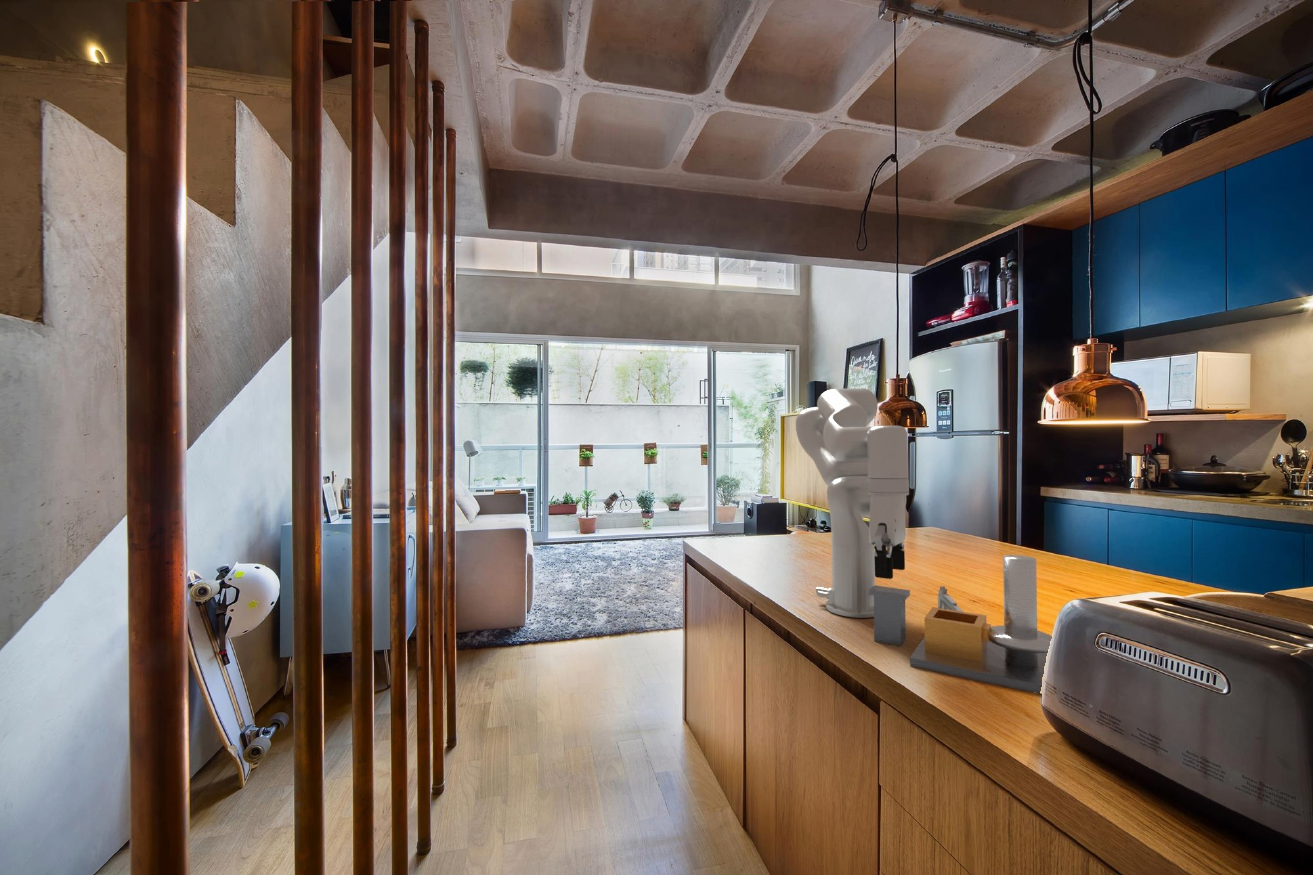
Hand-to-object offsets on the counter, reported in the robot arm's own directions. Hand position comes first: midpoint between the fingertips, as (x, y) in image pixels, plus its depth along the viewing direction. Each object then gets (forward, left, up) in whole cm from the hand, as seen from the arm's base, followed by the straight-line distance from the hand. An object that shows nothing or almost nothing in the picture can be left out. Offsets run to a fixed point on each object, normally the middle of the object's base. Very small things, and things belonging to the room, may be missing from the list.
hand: (890, 573), depth 109 cm
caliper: (+10, +19, -14) cm, 26 cm away
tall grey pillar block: (0, 0, -14) cm, 14 cm away
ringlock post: (+16, -2, -14) cm, 21 cm away
